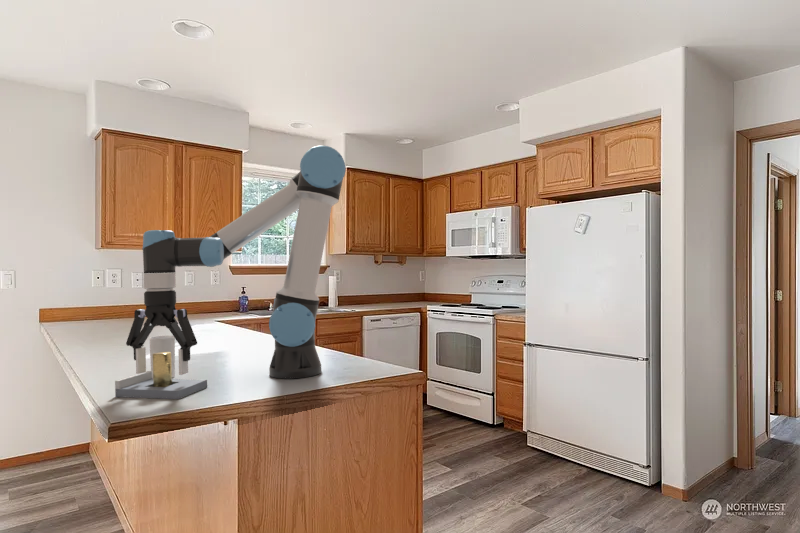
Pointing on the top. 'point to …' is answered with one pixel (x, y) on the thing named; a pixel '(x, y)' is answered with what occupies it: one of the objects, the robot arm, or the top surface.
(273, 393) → the top surface
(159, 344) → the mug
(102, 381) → the top surface
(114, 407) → the top surface
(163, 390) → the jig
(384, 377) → the top surface
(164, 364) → the gold rectangular block
